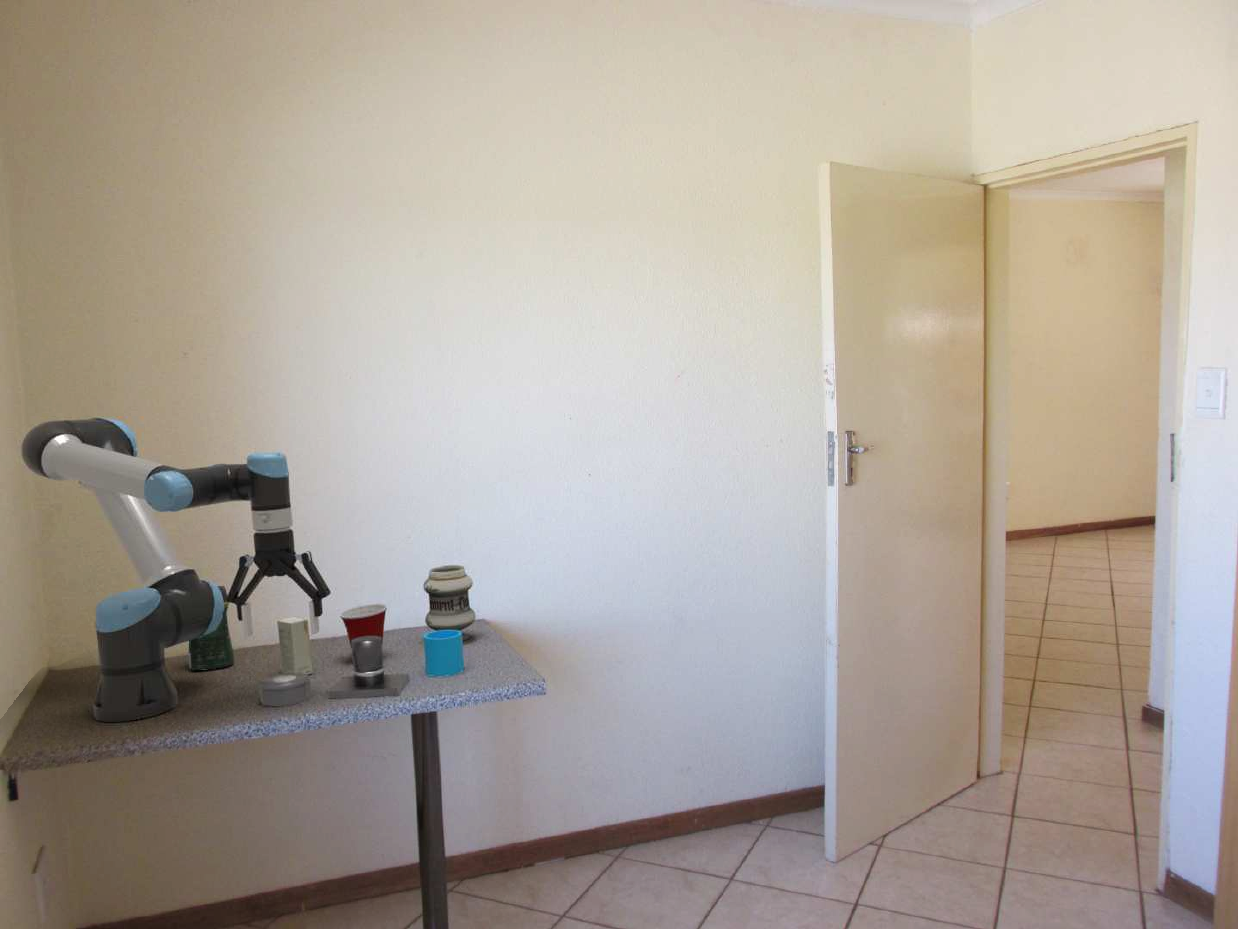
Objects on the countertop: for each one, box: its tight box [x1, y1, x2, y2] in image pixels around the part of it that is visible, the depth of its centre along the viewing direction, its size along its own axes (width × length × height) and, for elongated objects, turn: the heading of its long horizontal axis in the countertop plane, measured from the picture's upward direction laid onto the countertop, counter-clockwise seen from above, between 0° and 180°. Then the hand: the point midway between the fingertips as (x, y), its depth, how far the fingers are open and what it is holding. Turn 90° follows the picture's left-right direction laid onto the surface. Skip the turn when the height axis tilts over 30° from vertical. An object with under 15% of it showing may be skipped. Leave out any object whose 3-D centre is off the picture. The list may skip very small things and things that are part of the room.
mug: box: [423, 630, 465, 677], centre depth 213 cm, size 12×8×8 cm
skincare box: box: [277, 616, 314, 676], centre depth 215 cm, size 6×4×12 cm
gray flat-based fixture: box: [327, 636, 410, 699], centre depth 201 cm, size 14×10×10 cm
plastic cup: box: [339, 603, 388, 649], centre depth 224 cm, size 11×11×12 cm
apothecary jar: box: [423, 564, 477, 645], centre depth 237 cm, size 12×12×18 cm
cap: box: [259, 673, 312, 707], centre depth 197 cm, size 9×9×4 cm
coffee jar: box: [188, 585, 235, 671], centre depth 224 cm, size 10×8×19 cm
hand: (281, 634), depth 196 cm, fingers open, 13 cm apart
